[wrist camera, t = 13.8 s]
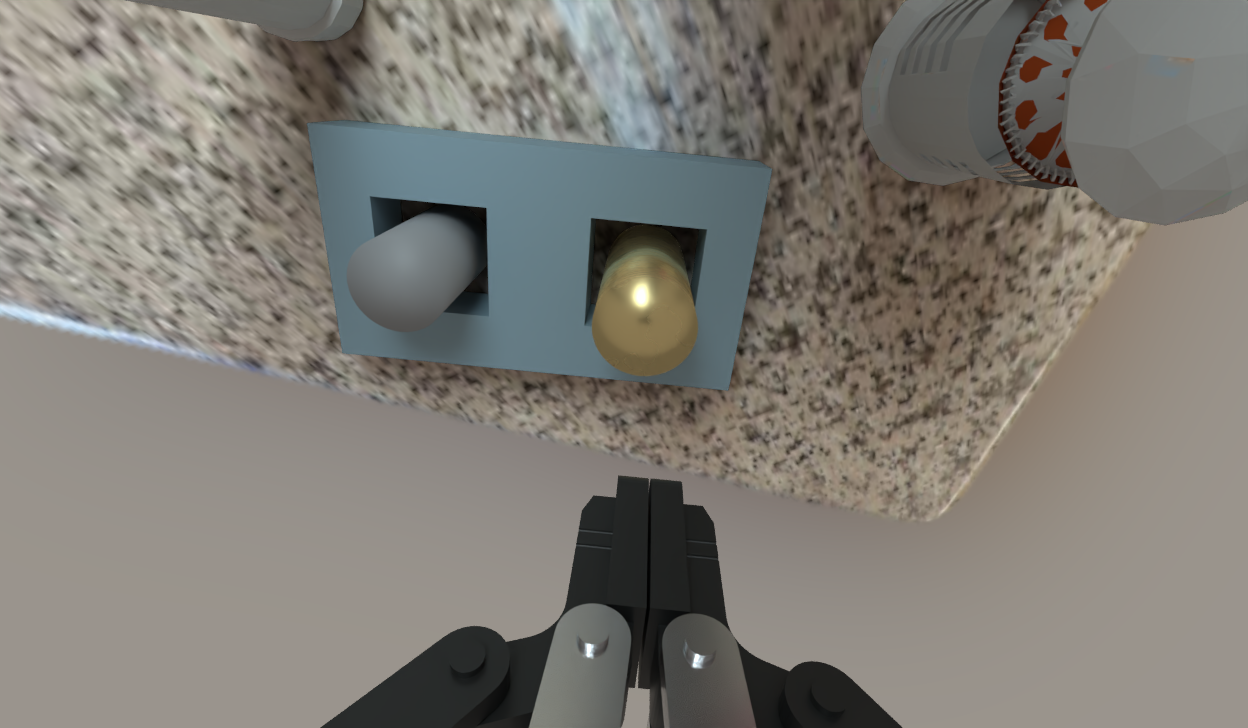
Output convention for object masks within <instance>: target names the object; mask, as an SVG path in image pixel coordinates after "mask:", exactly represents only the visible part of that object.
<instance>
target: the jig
mask: <svg viewBox="0 0 1248 728" xmlns="http://www.w3.org/2000/svg"><path fill="white" fill-rule="evenodd" d="M307 127H308V133H309V140H310V146H311V153H312V159H313V166H314V172H315V179H316V185H317V191H318V198H319V204H320V211H321V217H322V224H323V230H324V237H325V243H326V250H327V256H328V263H329V269H330V276H331V282H332V288H333V295H334V301H335V308H336V314H337V321H338V327H339V334H340V340H341V347H342V353H346V354H356V355H367V356H377V357H387V358H398V359H408V360H418V361H429V362H439V363H449V364H459V365H470V366H480V367H490V368H501V369H511V370H521V371H532V372H542V373H552V374H563V375H573V376H583V377H593V378H604V379H614V380H624V381H635V382H645V383H655V384H666V385H676V386H686V387H697V388H707V389H717V390H727V391H728V390H729V384H730V379H731V374H732V369H733V364H734V359H735V354H736V349H737V344H738V339H739V334H740V329H741V324H742V319H743V314H744V309H745V304H746V299H747V294H748V289H749V284H750V279H751V274H752V269H753V264H754V259H755V254H756V249H757V244H758V239H759V234H760V229H761V224H762V219H763V214H764V209H765V204H766V199H767V194H768V189H769V184H770V179H771V174H772V169H771V168H770V167H768V166H766V165H765V164H763V163H761V162H760V161H753V160H743V159H733V158H723V157H713V156H703V155H692V154H682V153H672V152H662V151H652V150H642V149H632V148H622V147H612V146H602V145H592V144H581V143H571V142H561V141H551V140H541V139H531V138H521V137H511V136H501V135H491V134H480V133H470V132H460V131H450V130H440V129H430V128H420V127H410V126H400V125H390V124H380V123H369V122H359V121H349V120H338V121H325V122H313V123H307ZM400 199H402V200H413V201H423V202H433V203H443V204H441V205H437V206H434V207H432V208H430V209H428V210H426V211H424V212H422V213H421V214H419V215H417V216H415V217H413V218H411V219H409V220H407V221H405V222H403V223H402V217H401V206H400ZM459 205H463V206H474V207H484V208H487V228H486V226H485V224H484V223H483V222H482V220H481V219H480V218H479V217H478V216H477V215H476V214H475V213H473V212H472V211H470V210H469V209H467V208H465V207H462V206H459ZM596 219H606V220H616V221H626V222H636V223H646V224H656V225H667V226H677V227H687V228H697V229H699V233H698V240H697V246H696V253H695V260H694V266H693V273H692V280H691V286H690V288H691V292H692V297H693V301H694V306H695V310H696V315H697V320H698V334H697V339H696V342H695V345H694V347H693V349H692V351H691V352H690V354H689V355H688V356H687V358H686V359H685V360H684V361H683V362H682V363H680V364H679V365H678V366H677V367H675V368H673V369H672V370H670V371H667V372H665V373H662V374H659V375H654V376H636V375H631V374H628V373H625V372H622V371H620V370H618V369H616V368H615V367H613V366H612V365H611V364H609V363H608V362H607V361H606V360H605V359H604V358H603V357H602V355H601V354H600V353H599V351H598V349H597V347H596V345H595V343H594V339H593V335H592V319H593V314H594V310H595V306H596V304H590V303H591V287H592V272H593V257H594V242H595V226H596ZM487 264H488V294H484V293H474V292H464V289H465V288H466V287H467V286H468V285H469V284H470V283H471V282H472V281H473V280H474V279H475V278H476V277H477V276H478V275H479V274H480V272H481V271H482V270H483V269H484V268H485V267H486V265H487Z"/></svg>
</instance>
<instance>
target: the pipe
mask: <svg viewBox="0 0 1248 728" xmlns="http://www.w3.org/2000/svg"><path fill="white" fill-rule="evenodd" d="M126 1H132V2H137V3H143V4H148V5H154V6H159V7H165V8H170V9H176V10H181V11H187V12H192V13H198V14H203V15H209V16H214V17H220V18H225V19H231V20H236V21H241V22H247V23H252V24H257V25H258V26H259V27H260V28H262V29H263V30H264V31H265V32H267V33H270V34H273V35H276V36H279V37H281V38H284V39H287V40H290V41H296V42H298V41H308V40H311V41H324V40H334V39H337V38H339V37H340V36H341V35H343V34H344V33H346V32H347V31H349V30H350V29H352V27H353V26H354V24H355V22H356V20H357V18H358V16H359V14H360V12H361V10H362V8H363V0H126Z"/></svg>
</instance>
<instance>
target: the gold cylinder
mask: <svg viewBox="0 0 1248 728" xmlns="http://www.w3.org/2000/svg"><path fill="white" fill-rule="evenodd" d="M697 334H698V320H697V315H696V310H695V306H694V301H693V297H692V292H691V288H690V283H689V279H688V274H687V270H686V265H685V261H684V256H683V252H682V249H681V246H680V244H679V242H678V241H677V240H676V238H675V237H674V236H673V235H672V234H671V233H670V232H668V231H667V230H665V229H663V228H661V227H659V226H655V225H650V224H643V225H637V226H633V227H631V228H628V229H627V230H625V231H623V232H622V233H621V234H620V235H619V236H618V237H617V238H616V239H615V240H614V242H613V244H612V245H611V248H610V250H609V254H608V258H607V262H606V266H605V270H604V274H603V278H602V282H601V286H600V290H599V294H598V298H597V302H596V306H595V310H594V314H593V319H592V335H593V339H594V343H595V345H596V347H597V349H598V351H599V353H600V354H601V355H602V357H603V358H604V359H605V360H606V361H607V362H608V363H609V364H611V365H612V366H613V367H615V368H616V369H618V370H620V371H622V372H625V373H628V374H631V375H636V376H654V375H659V374H662V373H665V372H667V371H670V370H672V369H673V368H675V367H677V366H678V365H679V364H680V363H682V362H683V361H684V360H685V359H686V358H687V356H688V355H689V354H690V352H691V351H692V349H693V347H694V345H695V342H696V339H697Z"/></svg>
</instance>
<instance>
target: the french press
mask: <svg viewBox="0 0 1248 728" xmlns="http://www.w3.org/2000/svg"><path fill="white" fill-rule="evenodd" d="M861 97H862V113H863V129H864V131H865V133H866V135H867V137H868V139H869V140H870V142H871V144H872V146H873V148H874V150H875V152H876V154H877V156H878V158H879V160H880V161H881V162H883V163H884V164H885V165H887V166H888V167H890V168H891V169H893V170H894V171H895V172H897V173H898V174H900V175H901V176H902V177H904V178H905V179H907V180H909V181H916V182H922V183H929V184H935V185H941V186H944V185H948V184H952V183H956V182H960V181H964V180H969V179H973V178H977V177H983V178H988V179H992V180H997V181H1001V182H1005V183H1010V184H1015V185H1021V186H1028V187H1034V188H1041V189H1053V188H1058V187H1063V186H1071V187H1079V188H1080V189H1081V190H1082V191H1083V192H1085V193H1086V194H1087V195H1088V196H1090V197H1091V198H1092V199H1093V200H1095V201H1096V202H1097V203H1098V204H1100V205H1101V206H1102V207H1103V208H1105V209H1106V210H1107V211H1108V212H1110V213H1111V214H1112V215H1113V216H1115V217H1119V218H1125V219H1131V220H1137V221H1142V222H1148V223H1154V224H1160V225H1169V224H1174V223H1179V222H1184V221H1189V220H1194V219H1198V218H1203V217H1208V216H1212V215H1217V214H1223V213H1226V212H1227V211H1229V210H1231V209H1233V208H1235V207H1237V206H1239V205H1241V204H1243V203H1244V202H1246V201H1248V0H907V1H905V2H904V3H903V4H902V5H901V6H900V8H899V9H898V11H897V12H896V14H895V15H894V16H893V18H892V19H891V21H890V22H889V24H888V25H887V27H886V28H885V29H884V31H883V32H882V34H881V35H880V37H879V38H878V40H877V41H876V42H875V44H874V47H873V50H872V53H871V57H870V60H869V63H868V67H867V70H866V73H865V77H864V80H863V83H862V87H861ZM1010 161H1013V162H1015V163H1016V164H1014V165H1012V166H1008V167H1002V168H995V167H997V166H1001V165H1004V164H1006V163H1008V162H1010ZM994 168H995V169H994ZM1018 168H1023V169H1024V170H1020V171H1013V172H1006V173H997V172H996V171H1001V170H1010V169H1018ZM1022 173H1029V174H1031V175H1029V176H1022V177H1003V176H1004V175H1013V174H1022ZM1030 178H1036V179H1037V180H1033V181H1024V182H1016V181H1011V180H1020V179H1030Z"/></svg>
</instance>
